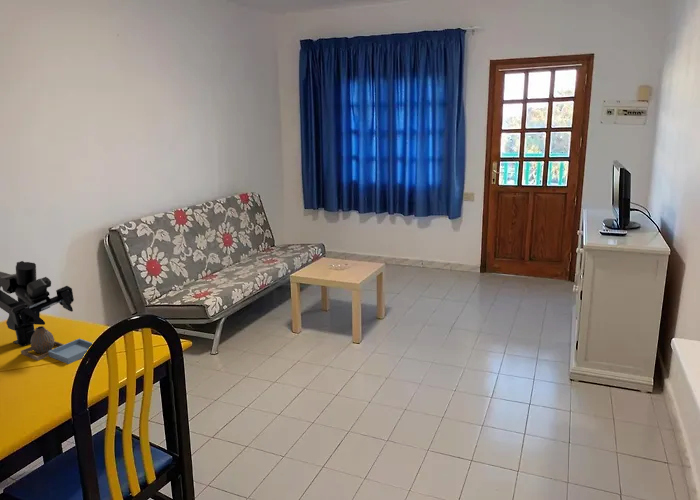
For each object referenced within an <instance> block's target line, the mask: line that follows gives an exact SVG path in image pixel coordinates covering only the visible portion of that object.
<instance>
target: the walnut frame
mask: <svg viewBox="0 0 700 500" xmlns="http://www.w3.org/2000/svg"><path fill="white" fill-rule="evenodd" d="M64 344H65V343H62V342H58V341H56V340H54V346H56V347H60V346H62V345H64ZM32 351H34V350H33V349H32V347H31V346H29V347H27V348H24V349H22V350H20V354H21V355H23V356H26V357H28V358H30V359H33V360H35V361H40V360H43V359H45V358H47V357H49V353H48V352H47V353H44V354H39V355H35V354H33V353H30V352H32Z"/></svg>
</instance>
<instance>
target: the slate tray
mask: <svg viewBox="0 0 700 500" xmlns="http://www.w3.org/2000/svg"><path fill="white" fill-rule="evenodd" d="M92 343H93V342H91V341H89V340H85V339H82V338H80V337H79V338H77V339H75V340H72V341H70V342H67V343H63V344H64V345H62V346H60V347H59V346H56V347H55V348H53V349H52V350H50V351H48V353H49V356H48V357H49V358H52V359H54V360H57V361H59V362H62V363H64V364H67V365H70V364H72V363H74V362H77V361H79V360H81V359H83V358H84V357H83V356H84V354H85V353H86V352H87V350H88V349H89V347H90V346H91V345H92ZM82 357H83V358H82Z"/></svg>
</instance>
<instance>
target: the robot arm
mask: <svg viewBox="0 0 700 500" xmlns="http://www.w3.org/2000/svg"><path fill="white" fill-rule="evenodd" d="M50 287H52V281H51V280H50V278H49V277H47V276H45V277H41V278H38V279H37V264H36V263H35V262H30V261H24V260H22V261H18V262H16V265H15V273H14V274H13V273H12V274H10V273H6V272H3V271H0V309H1V310H2V311H4V312H6V313H7V314H8V318H7V320H6V325H7V328H8V329H10V330H12V331H14V332H15V336H16V339H15V340H14V341H13V344H15V345H19V346H21V347H24V346H27V345H31V343H30V341H31V337H32V335H33V333H34V332H35V329H36V328H35V325H41V326H44V325H46V322H45V321H44V319H42V318H41V317H40V316H41V314H40V313H41V312H43V311H45V310H48V309H50V308H51V307H52V306H55V305H57V304H59V305H61V306H62V308H64V309H65V310H67V311H68V312H74V310H73V306H72V305H71V304H72V303H73V302H74V301H75V300H74V295H73V294H74V293H73V288H72V287H70V286H69V285H65V286H62V287H60V288H57V289H56V290H55V291H56V296H53V297H49V296H50V292H49V291H48V290H47V289H48V288H50ZM1 288H2V290H1ZM11 294H15V296H16V297H17V299H15V298H14V297H12V296H11Z"/></svg>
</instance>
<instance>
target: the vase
mask: <svg viewBox="0 0 700 500" xmlns="http://www.w3.org/2000/svg"><path fill="white" fill-rule="evenodd" d="M34 329H35V332H34V333H33V335H32V337H31V341H30V347H32V349H33V350H32V351H34V352H35V353H36V354H39V355H42V354H45V353H47V352H48V351H50V350H52V349H54V346H55V345H54V341H55V338H54V334H52V332H51V331H50V330H48V329H46V328H45V326H44V325H41V326H37V327H35V328H34Z"/></svg>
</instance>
